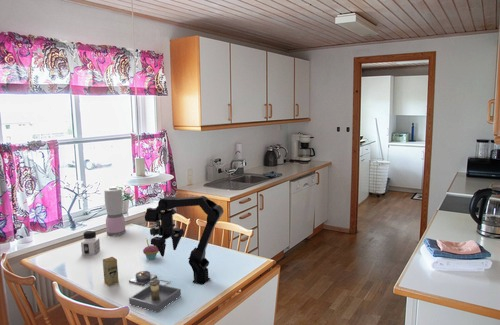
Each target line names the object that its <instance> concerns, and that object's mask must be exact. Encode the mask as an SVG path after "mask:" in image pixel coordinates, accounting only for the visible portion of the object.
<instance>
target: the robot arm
mask: <svg viewBox="0 0 500 325" xmlns="http://www.w3.org/2000/svg"><path fill="white" fill-rule="evenodd" d="M157 204H158V205H157V206H156V208H152V207H148V208H146V212H145V215H144V221H145V222H147V223H159V222H160V224H159V226H158V227H156V228H155V227H151V228H150V229H149V233H150V235H151V236H153V237H152V238H151V239H150V246H151V245H152V246H156V247H157V248H158V250H159V252H158V253H159V254H160V257H163V258H164V256H165V252H166V246H167V243H166V240H168V239H170V238H171V242H172V249H173V251H176V250H177V247H178V246H179V244H180V241H181V239H182V238H183V236H184V235H185V231H184V229H183V228H180V227H175V226H176V224H175V223H174V219H173V218H174V215H175V214H177V213H178V212H177V211H176V210H175V208H182V207H184V208H185V207H195V206H196V207H197V206H199V208H201V210H202V211H203V213H205V214H206V224H205V227H204V229H203V231H202V234H201V237H200V239H199V242H198V244H197V246H196V247H194V248H192V250H191V252H190V255H189V257H188V258H187V259H188V264H189V265H190V267H191V269H192V273H193V280H192V283H194V284H195V283H196V284H199V285H205V284H207V283H208V282H209V281H210V280H211V278H210V277H209V268H207V267H208V266H209V265H210V261H209V260H208V259H207V258H206V251H207V247H208V244H209V242H210V239H211V238H212V235H213V232H214V229H215V227H216V224H217V223H218V222H219V220H220V219H221V217H222V216H223V214H224V211H225V210H224V208H223V207H222V206H221V205H220V204H217V203H216V202H215V201H213V200H211V199H210V198H208V197H206V196H205V195H201V196H190V197H189V196H187V197H176V196H171V195H167V196H164V197H162V198H161V199H159V200H158V203H157Z"/></svg>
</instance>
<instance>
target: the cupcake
mask: <svg viewBox="0 0 500 325" xmlns="http://www.w3.org/2000/svg"><path fill="white" fill-rule="evenodd" d="M146 243H147V246H146V247H144V248H143V249H142V253H143V254H144V255H145V257H146V259H147V261H152V260H155V259H156V258H157V254H158V253H160V252H159V250H158V248H157V247H156V246H154V245H151V244H150V245H149V240H148V238H146Z"/></svg>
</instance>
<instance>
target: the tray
mask: <svg viewBox="0 0 500 325" xmlns="http://www.w3.org/2000/svg"><path fill="white" fill-rule="evenodd" d="M148 285H149V284H148ZM148 285H147V286H146V287H144V288H142V289H141V290H140V291H137V292H135V294H133V295H131V296H130V297H128V301H129V302H128V304H129V305H130V304H131V305H130V306H133V305H135V306H134V307H136V306H139V307H138V308H140V307H142V308H141V309H143V308H146V309H145V310H147V309H149V310H148V311H150V310H153V311H152V312H154V311H156V312H155V313H157V312H158V311H159V312H161V311H162V310H164V309H165V308H166V307H168V306H169V305H170V304H172V303H173V302H174V301H176V300H177V299H179V298H180V297H181V296H182V292H181V288H177V287H173V286H169V285H164V284H161V283H160V284H159V294H160V299H159V300H156V301H153V300H151V285H149V286H148ZM180 295H181V296H180ZM179 296H180V297H179ZM176 298H177V299H176ZM175 299H176V300H175ZM172 301H173V302H172ZM171 302H172V303H171ZM169 303H170V304H169ZM168 304H169V305H168ZM167 305H168V306H167ZM165 306H166V307H165ZM164 307H165V308H164ZM161 309H162V310H161ZM160 310H161V311H160ZM159 312H158V313H159Z"/></svg>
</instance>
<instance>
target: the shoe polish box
mask: <svg viewBox="0 0 500 325" xmlns="http://www.w3.org/2000/svg"><path fill="white" fill-rule="evenodd" d="M102 268H103V270H102V271H103V279H104V280H103V282H104V284H105V285H106V286H108V287H111V286H113V285H116V283H117V284H118V283H119V282H120V281H119V272H118V271H119V269H118V268H119V267H118V259H117V258H115V257H113V256H110V257H107V258H104V259H102Z"/></svg>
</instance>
